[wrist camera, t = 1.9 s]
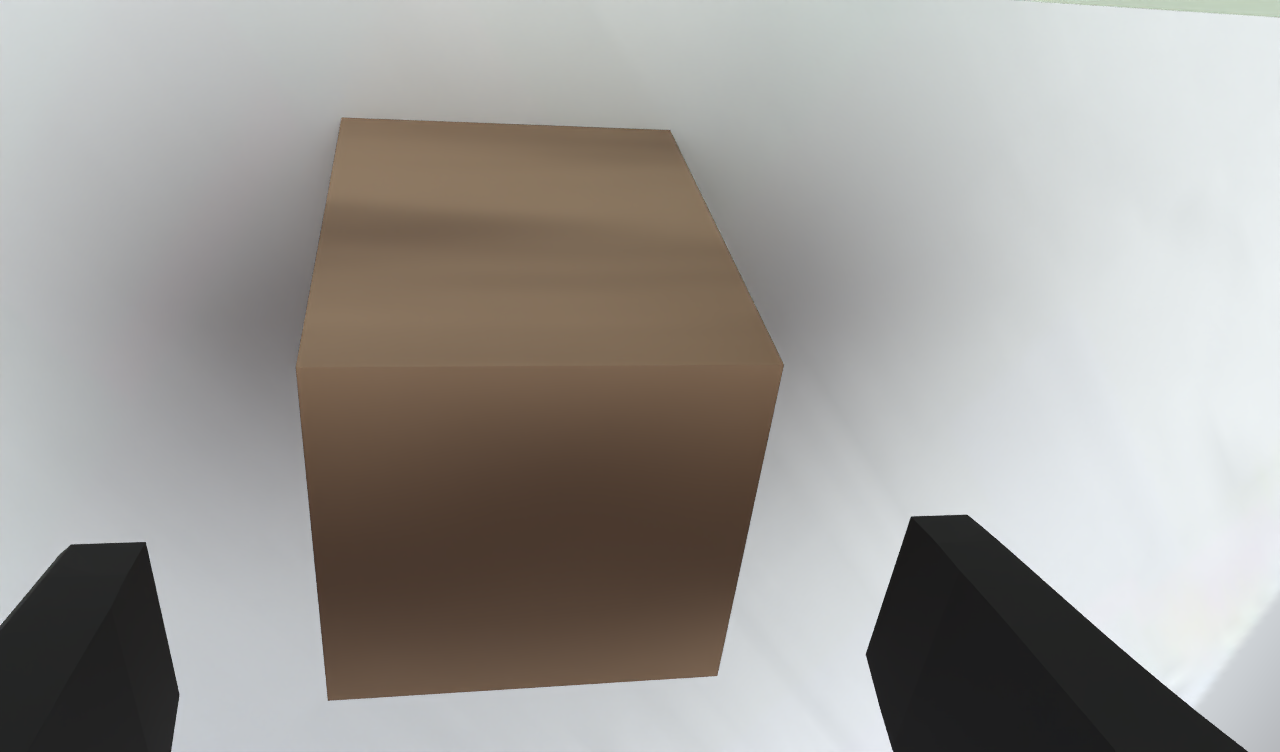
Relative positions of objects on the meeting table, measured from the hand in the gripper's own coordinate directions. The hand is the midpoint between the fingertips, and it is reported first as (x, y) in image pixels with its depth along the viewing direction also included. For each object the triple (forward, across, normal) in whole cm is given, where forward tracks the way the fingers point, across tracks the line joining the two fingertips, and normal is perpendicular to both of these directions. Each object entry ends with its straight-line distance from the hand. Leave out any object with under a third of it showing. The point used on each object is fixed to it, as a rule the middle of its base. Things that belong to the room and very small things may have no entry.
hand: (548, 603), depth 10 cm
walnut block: (+7, 0, 0) cm, 7 cm away
